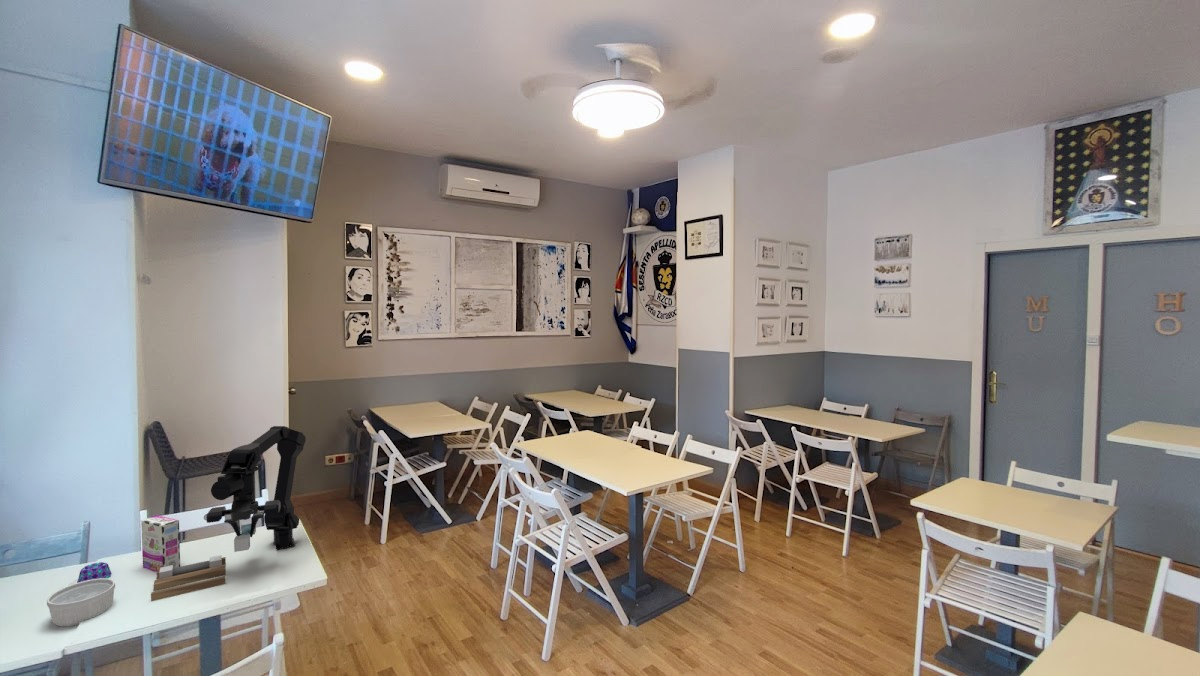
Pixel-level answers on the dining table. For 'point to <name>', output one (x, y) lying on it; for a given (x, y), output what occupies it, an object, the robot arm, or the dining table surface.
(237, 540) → the grey and teal bar
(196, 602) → the dining table surface
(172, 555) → the candy bar box
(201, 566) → the grey white-ended bar
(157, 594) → the walnut rack
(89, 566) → the purple spotted rounded lump
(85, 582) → the ramekin
